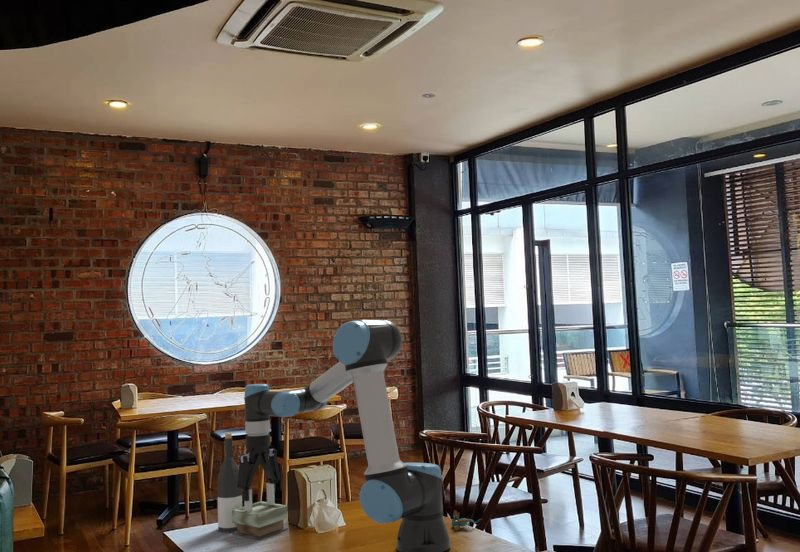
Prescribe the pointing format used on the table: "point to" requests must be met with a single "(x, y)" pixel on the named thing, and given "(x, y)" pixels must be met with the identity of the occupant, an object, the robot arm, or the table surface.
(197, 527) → the table surface
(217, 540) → the table surface
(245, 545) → the table surface
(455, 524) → the dragon figurine
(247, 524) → the two-tone layered tray
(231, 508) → the wine bottle
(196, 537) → the table surface
